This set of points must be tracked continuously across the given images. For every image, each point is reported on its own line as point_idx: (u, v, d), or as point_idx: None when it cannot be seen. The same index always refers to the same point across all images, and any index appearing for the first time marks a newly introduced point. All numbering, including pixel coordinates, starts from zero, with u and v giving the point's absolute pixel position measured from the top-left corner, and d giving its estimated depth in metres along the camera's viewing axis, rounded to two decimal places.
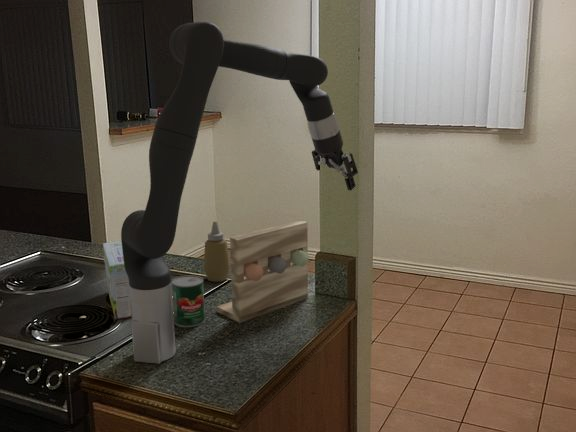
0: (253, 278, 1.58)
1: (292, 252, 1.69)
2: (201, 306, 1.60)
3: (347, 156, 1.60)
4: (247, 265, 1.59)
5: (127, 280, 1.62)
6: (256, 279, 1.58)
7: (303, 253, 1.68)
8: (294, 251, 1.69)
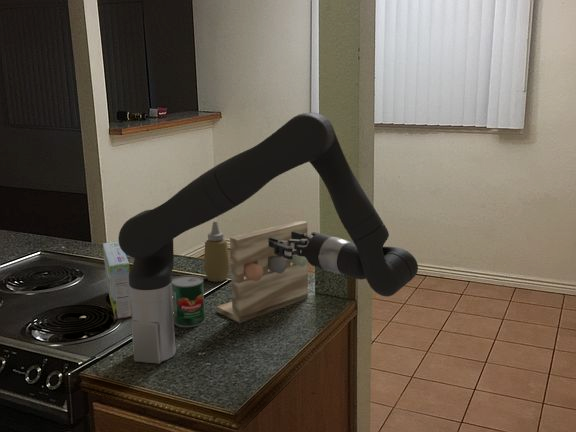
0: (253, 278, 1.58)
1: None
2: (201, 306, 1.60)
3: (289, 252, 1.37)
4: (247, 265, 1.59)
5: (127, 280, 1.62)
6: (256, 279, 1.58)
7: None
8: None
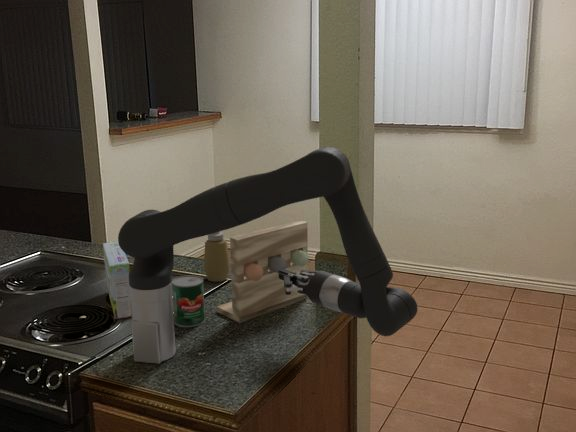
0: (253, 278, 1.58)
1: (292, 252, 1.69)
2: (201, 306, 1.60)
3: (286, 288, 1.41)
4: (247, 265, 1.59)
5: (127, 280, 1.62)
6: (256, 279, 1.58)
7: (303, 253, 1.68)
8: (294, 251, 1.69)
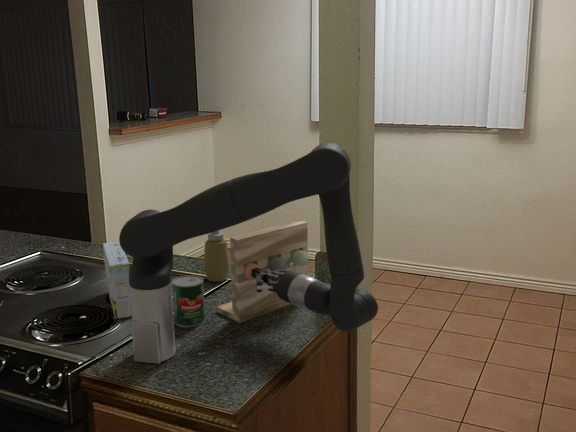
0: (250, 277, 1.58)
1: (292, 252, 1.69)
2: (201, 306, 1.60)
3: (257, 285, 1.49)
4: (244, 264, 1.60)
5: (127, 280, 1.62)
6: (253, 278, 1.59)
7: (303, 253, 1.68)
8: (294, 251, 1.69)
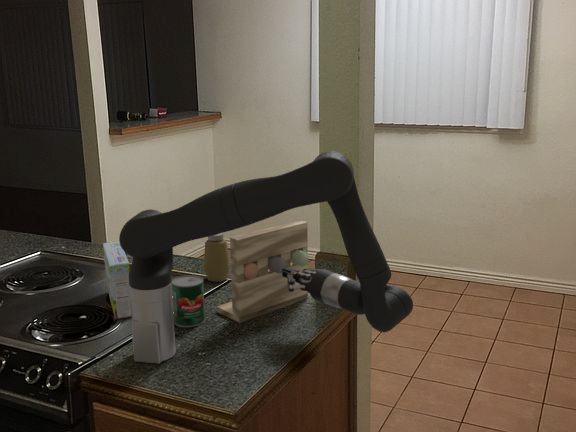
0: (248, 276, 1.59)
1: (292, 252, 1.69)
2: (201, 306, 1.60)
3: (289, 285, 1.49)
4: None
5: (127, 280, 1.62)
6: (251, 277, 1.60)
7: (303, 253, 1.68)
8: (294, 251, 1.69)
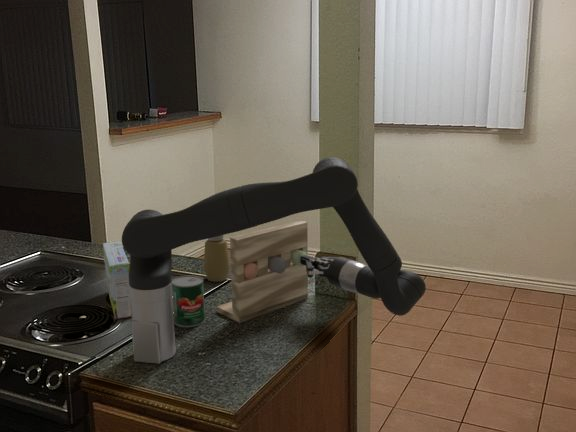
0: (248, 276, 1.59)
1: (291, 252, 1.70)
2: (201, 306, 1.60)
3: (308, 271, 1.58)
4: None
5: (127, 280, 1.62)
6: (251, 277, 1.60)
7: (302, 253, 1.68)
8: (293, 251, 1.70)
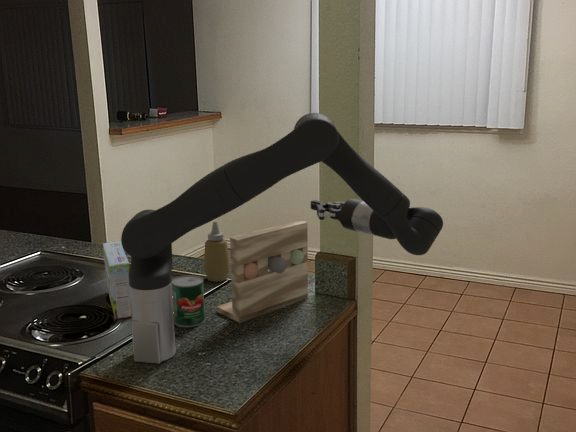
0: (248, 276, 1.59)
1: None
2: (201, 306, 1.60)
3: (320, 213, 1.52)
4: None
5: (127, 280, 1.62)
6: (251, 277, 1.60)
7: (298, 251, 1.70)
8: None
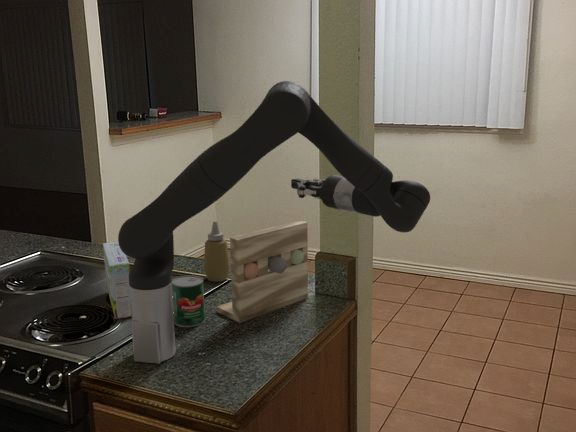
0: (248, 276, 1.59)
1: None
2: (201, 306, 1.60)
3: (299, 190, 1.42)
4: None
5: (127, 280, 1.62)
6: (251, 277, 1.60)
7: (298, 251, 1.70)
8: None
